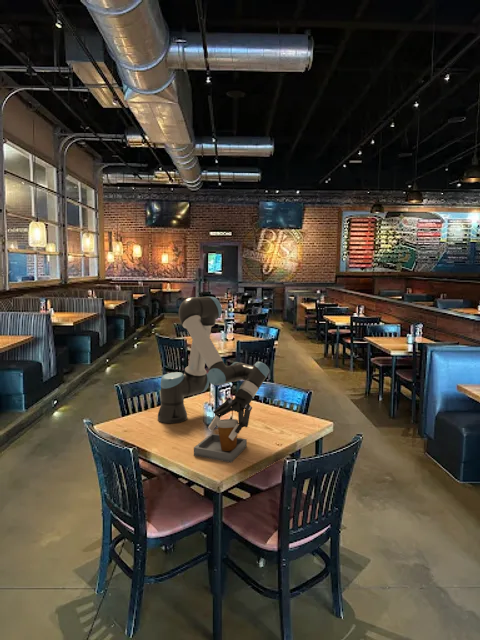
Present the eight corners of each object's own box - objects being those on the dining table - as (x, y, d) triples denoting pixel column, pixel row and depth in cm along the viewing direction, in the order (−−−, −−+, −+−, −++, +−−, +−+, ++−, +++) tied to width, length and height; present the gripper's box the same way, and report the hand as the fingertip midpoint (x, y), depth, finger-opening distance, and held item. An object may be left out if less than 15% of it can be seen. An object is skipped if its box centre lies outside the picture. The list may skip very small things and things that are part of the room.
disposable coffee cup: (241, 446, 189) (240, 418, 189) (238, 452, 179) (237, 422, 180) (219, 446, 190) (218, 419, 190) (215, 452, 180) (214, 423, 181)
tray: (193, 455, 182) (193, 447, 182) (211, 440, 198) (211, 433, 197) (231, 462, 176) (231, 454, 175) (246, 446, 191) (246, 439, 191)
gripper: (270, 404, 186) (244, 447, 178) (232, 391, 204) (206, 430, 196) (262, 394, 182) (235, 438, 174) (223, 382, 200) (197, 421, 192)
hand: (220, 434), depth 185 cm, fingers open, 13 cm apart
